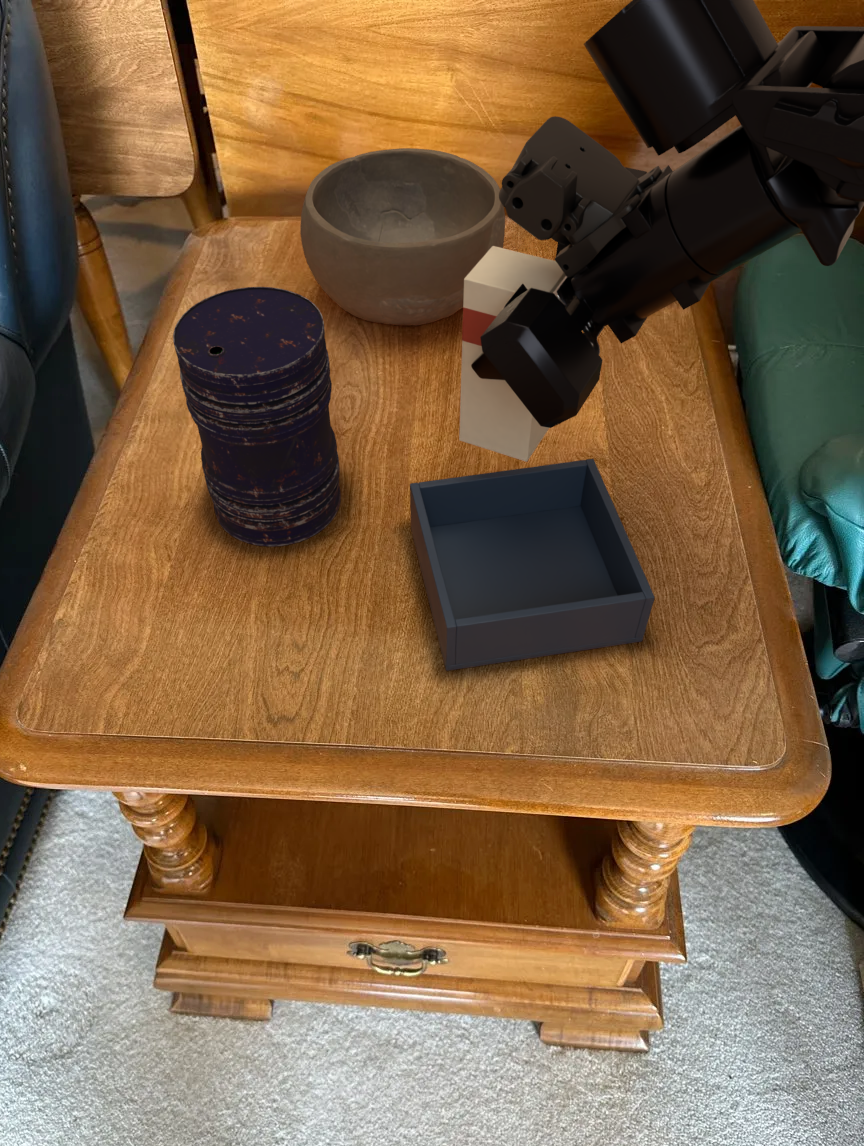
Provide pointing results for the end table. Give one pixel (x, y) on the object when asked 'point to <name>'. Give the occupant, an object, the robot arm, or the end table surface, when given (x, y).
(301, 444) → the dark blue cylinder
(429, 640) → the end table surface
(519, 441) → the plate
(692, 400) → the end table surface
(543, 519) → the box
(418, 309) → the bowl
